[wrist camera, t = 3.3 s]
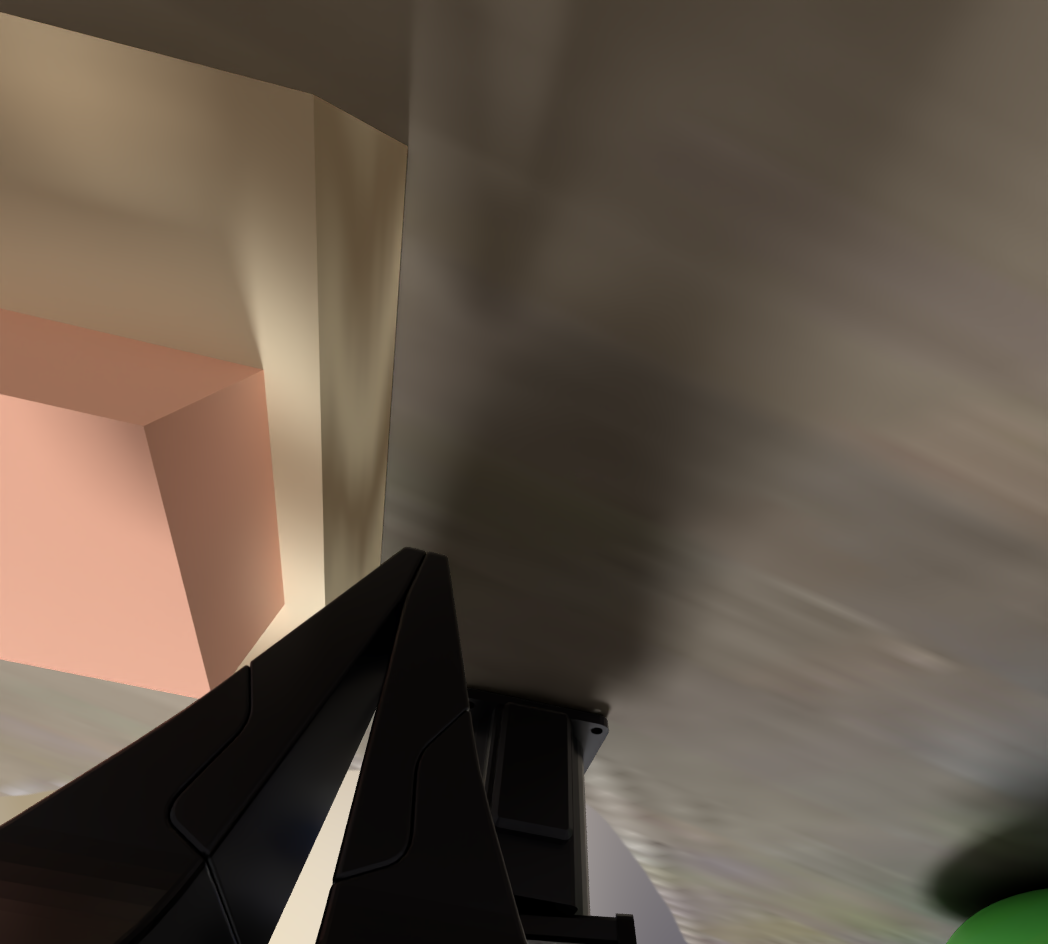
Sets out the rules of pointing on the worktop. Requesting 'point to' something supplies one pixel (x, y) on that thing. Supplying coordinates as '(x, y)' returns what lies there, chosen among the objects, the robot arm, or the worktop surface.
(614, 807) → the worktop surface
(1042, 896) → the toy bird
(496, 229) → the worktop surface
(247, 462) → the salmon pink block
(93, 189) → the tan block
